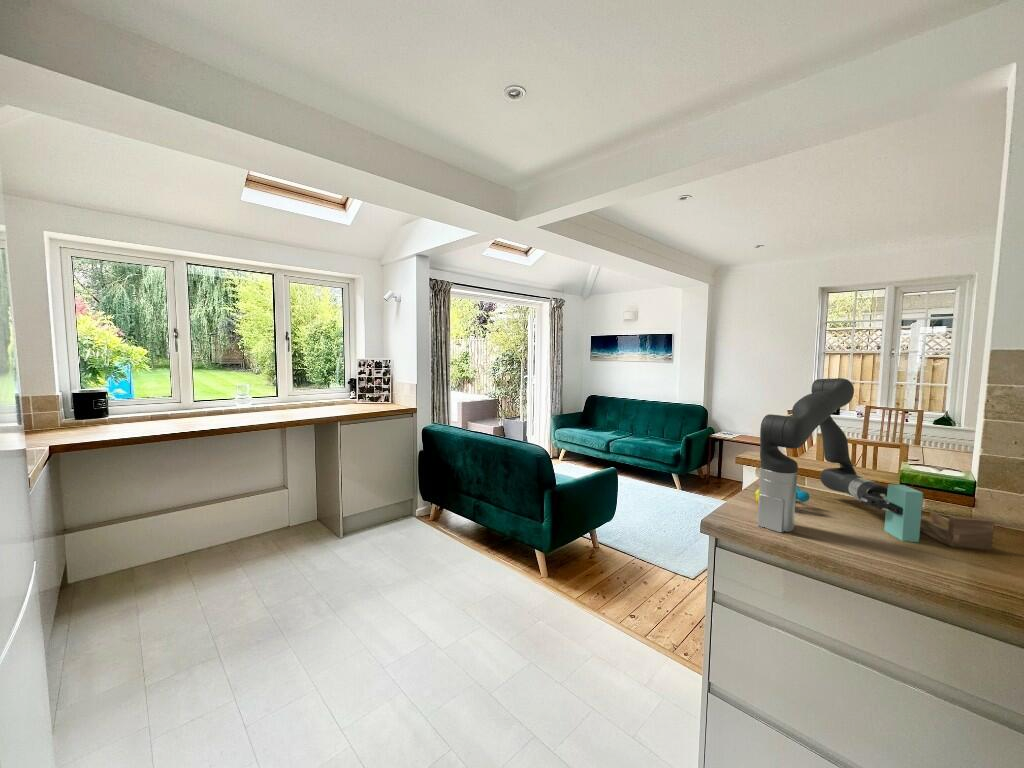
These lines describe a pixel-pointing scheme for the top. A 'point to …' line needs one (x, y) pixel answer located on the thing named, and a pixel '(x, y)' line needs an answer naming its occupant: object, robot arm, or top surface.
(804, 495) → the molecular model
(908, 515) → the teal rectangular block
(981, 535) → the brown wooden drawer
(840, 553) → the top surface
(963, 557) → the top surface
